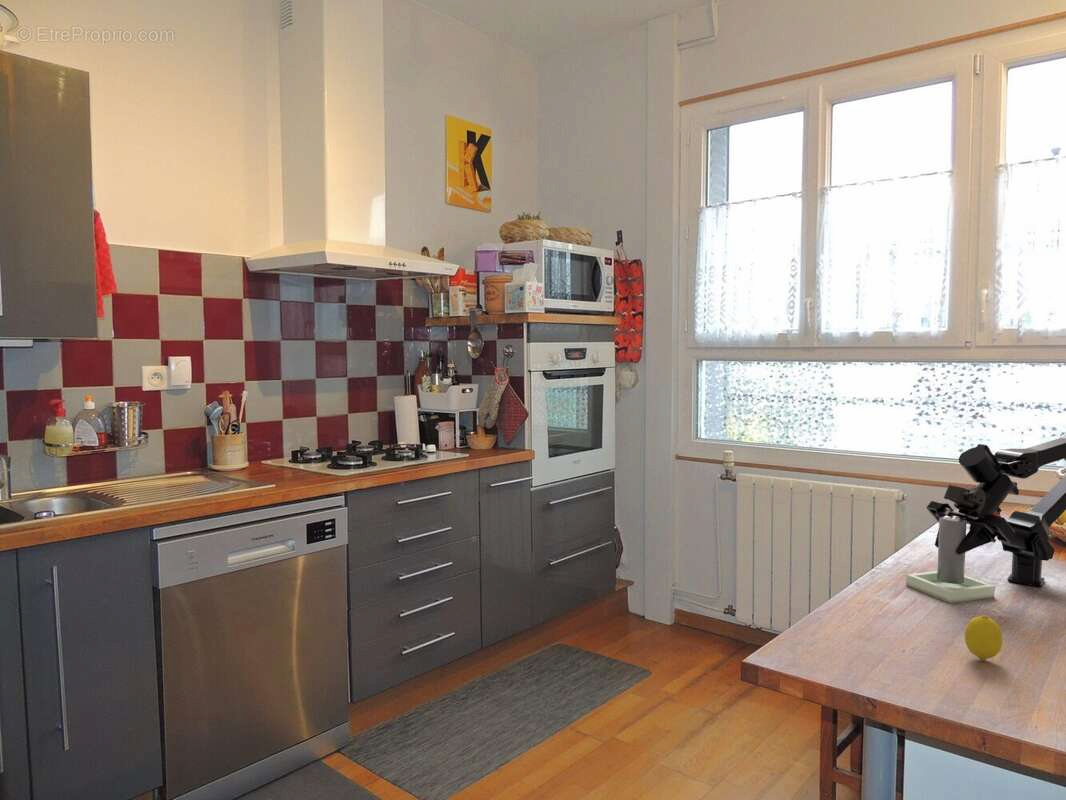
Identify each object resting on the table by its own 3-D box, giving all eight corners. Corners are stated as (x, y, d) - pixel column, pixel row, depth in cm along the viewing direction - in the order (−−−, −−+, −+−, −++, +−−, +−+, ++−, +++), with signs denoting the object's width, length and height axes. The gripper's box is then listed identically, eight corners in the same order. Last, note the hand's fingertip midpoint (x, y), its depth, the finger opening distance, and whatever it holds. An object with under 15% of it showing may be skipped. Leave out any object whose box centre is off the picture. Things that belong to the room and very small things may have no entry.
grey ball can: (939, 574, 169) (942, 512, 167) (966, 579, 165) (968, 516, 164) (934, 580, 165) (937, 517, 163) (961, 585, 161) (964, 520, 160)
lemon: (1006, 668, 127) (1009, 622, 126) (970, 665, 128) (972, 619, 127) (993, 655, 132) (995, 610, 131) (959, 652, 133) (961, 608, 132)
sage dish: (948, 580, 173) (948, 569, 172) (994, 597, 161) (995, 586, 161) (906, 585, 169) (906, 574, 169) (950, 603, 158) (950, 591, 157)
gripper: (934, 465, 173) (893, 516, 171) (1007, 480, 155) (963, 537, 153) (960, 496, 176) (920, 547, 174) (1034, 514, 158) (991, 571, 156)
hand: (946, 549), depth 164 cm, fingers closed on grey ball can, 5 cm apart
